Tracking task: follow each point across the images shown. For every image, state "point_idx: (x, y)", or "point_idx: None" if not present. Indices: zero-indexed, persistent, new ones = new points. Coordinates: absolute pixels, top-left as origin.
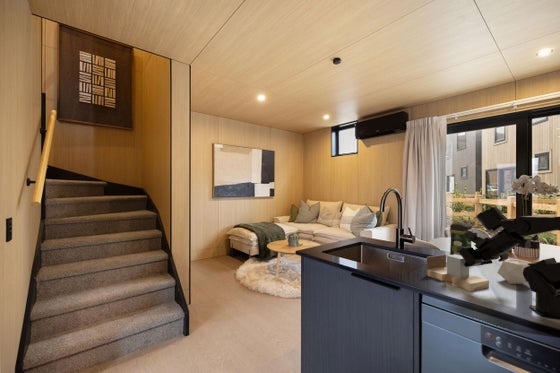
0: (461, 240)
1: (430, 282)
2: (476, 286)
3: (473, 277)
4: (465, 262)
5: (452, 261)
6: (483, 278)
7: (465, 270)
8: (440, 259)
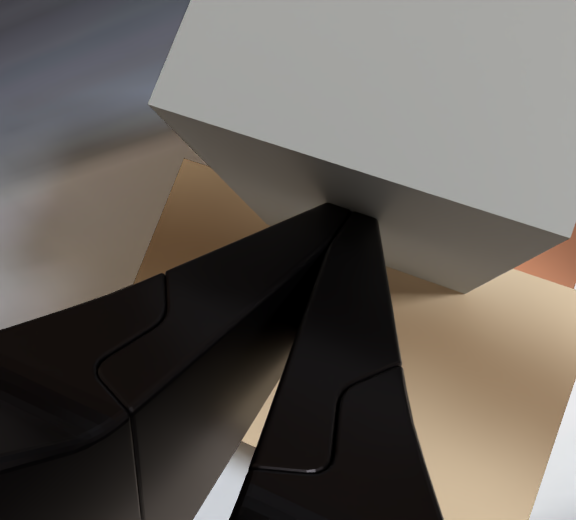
0: None
1: (116, 12)
2: None
3: (456, 354)
4: (275, 226)
5: None
6: (540, 481)
7: None
8: None
